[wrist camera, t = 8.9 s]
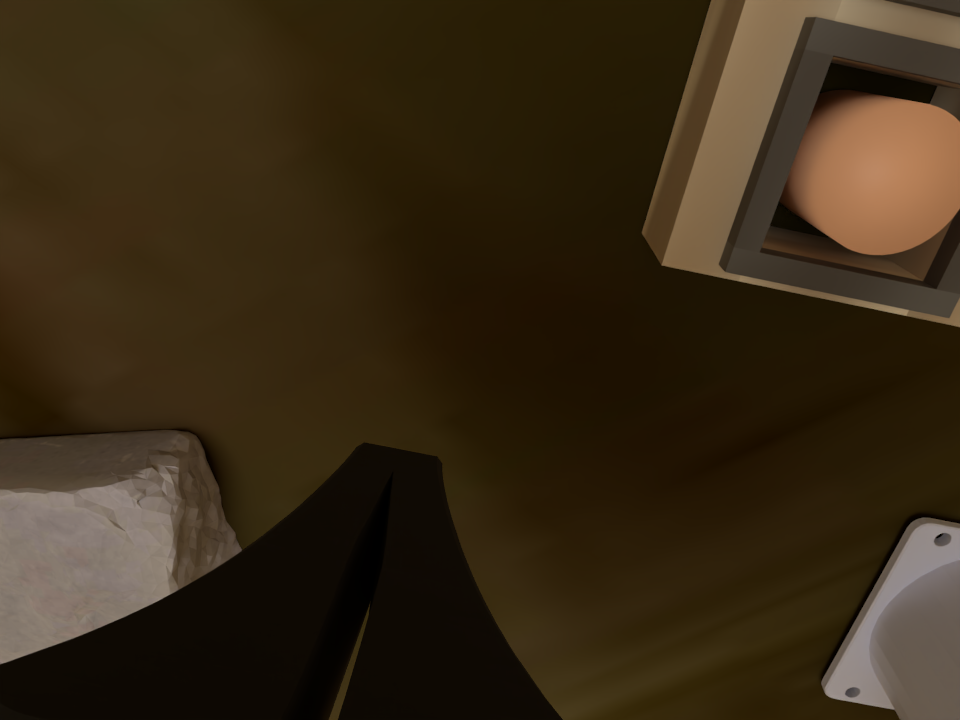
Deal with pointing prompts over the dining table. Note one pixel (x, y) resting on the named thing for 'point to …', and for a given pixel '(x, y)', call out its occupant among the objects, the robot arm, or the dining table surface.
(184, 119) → the dining table surface
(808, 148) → the peg
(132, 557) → the stone block
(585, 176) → the dining table surface
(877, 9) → the socket block
